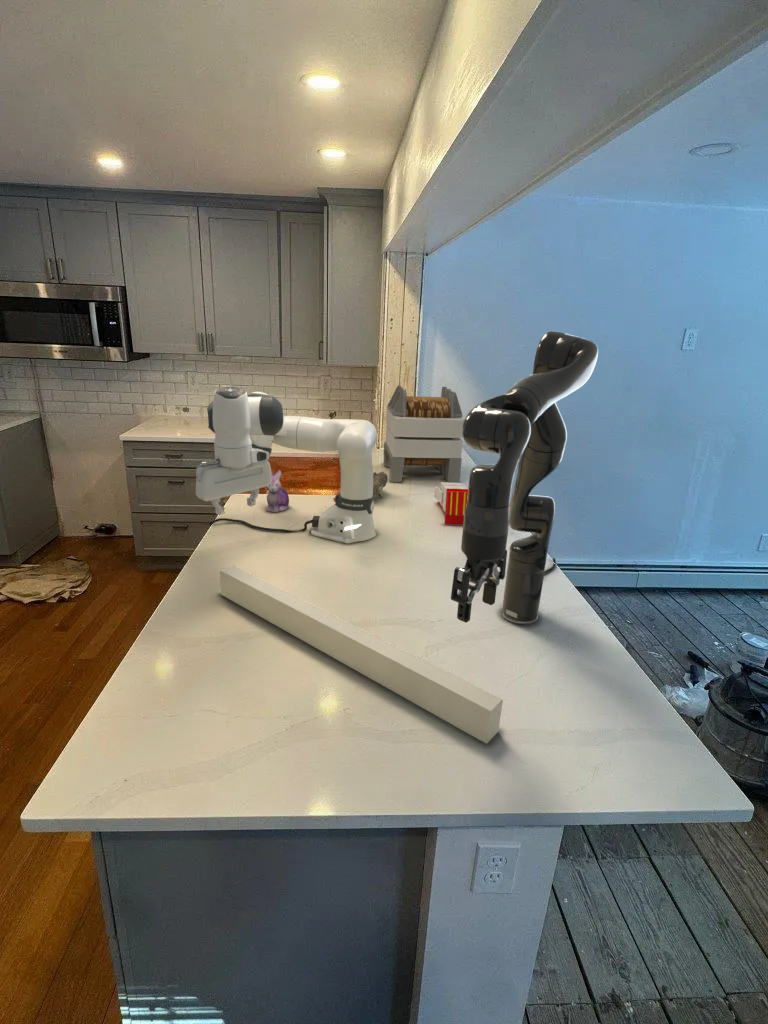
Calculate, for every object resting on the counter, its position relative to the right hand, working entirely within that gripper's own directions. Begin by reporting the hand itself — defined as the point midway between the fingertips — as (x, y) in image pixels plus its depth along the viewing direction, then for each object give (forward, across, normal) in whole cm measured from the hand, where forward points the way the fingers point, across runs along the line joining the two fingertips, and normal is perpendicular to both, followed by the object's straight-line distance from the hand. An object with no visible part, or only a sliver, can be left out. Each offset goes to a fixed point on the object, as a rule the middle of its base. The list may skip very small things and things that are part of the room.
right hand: (476, 611), depth 101 cm
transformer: (+25, +136, +112) cm, 178 cm away
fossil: (+25, +92, +104) cm, 141 cm away
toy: (+25, +100, +69) cm, 124 cm away
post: (+24, 0, +35) cm, 43 cm away
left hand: (-1, 0, +70) cm, 70 cm away
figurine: (+25, +54, +118) cm, 132 cm away
